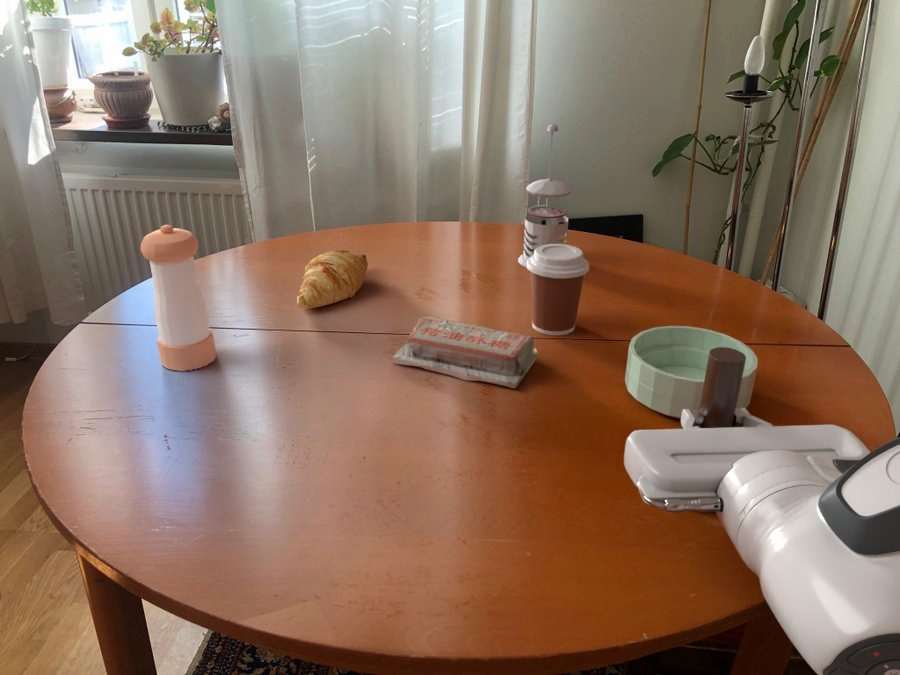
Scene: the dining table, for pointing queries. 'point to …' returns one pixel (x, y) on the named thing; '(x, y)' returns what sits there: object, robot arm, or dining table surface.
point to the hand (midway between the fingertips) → (712, 414)
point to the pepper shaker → (178, 300)
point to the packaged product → (468, 351)
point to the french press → (545, 214)
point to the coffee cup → (556, 287)
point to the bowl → (679, 367)
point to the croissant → (331, 278)
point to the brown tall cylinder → (721, 387)
